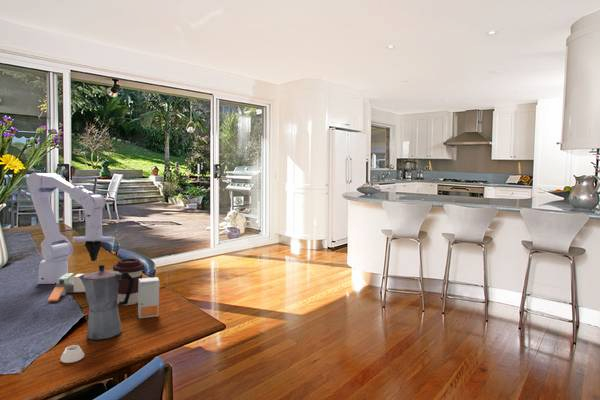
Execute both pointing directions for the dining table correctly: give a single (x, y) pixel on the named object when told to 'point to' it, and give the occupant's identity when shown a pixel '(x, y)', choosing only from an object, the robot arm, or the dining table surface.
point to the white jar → (72, 354)
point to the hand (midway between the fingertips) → (93, 260)
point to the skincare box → (148, 297)
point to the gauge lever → (56, 292)
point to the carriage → (78, 284)
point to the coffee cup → (135, 272)
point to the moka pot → (104, 302)
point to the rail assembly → (68, 283)
